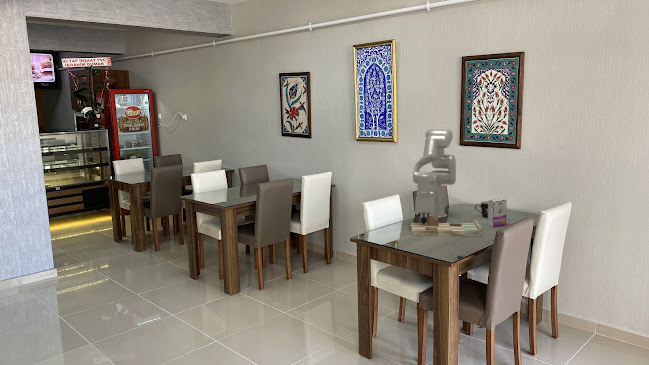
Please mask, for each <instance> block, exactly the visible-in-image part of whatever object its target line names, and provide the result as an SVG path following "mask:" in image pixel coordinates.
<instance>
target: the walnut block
mask: <svg viewBox="0 0 649 365" xmlns="http://www.w3.org/2000/svg"><path fill="white" fill-rule="evenodd" d="M439 219H440V218H438V216H427V223H428V226H439V223H440V222H439Z"/></svg>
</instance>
